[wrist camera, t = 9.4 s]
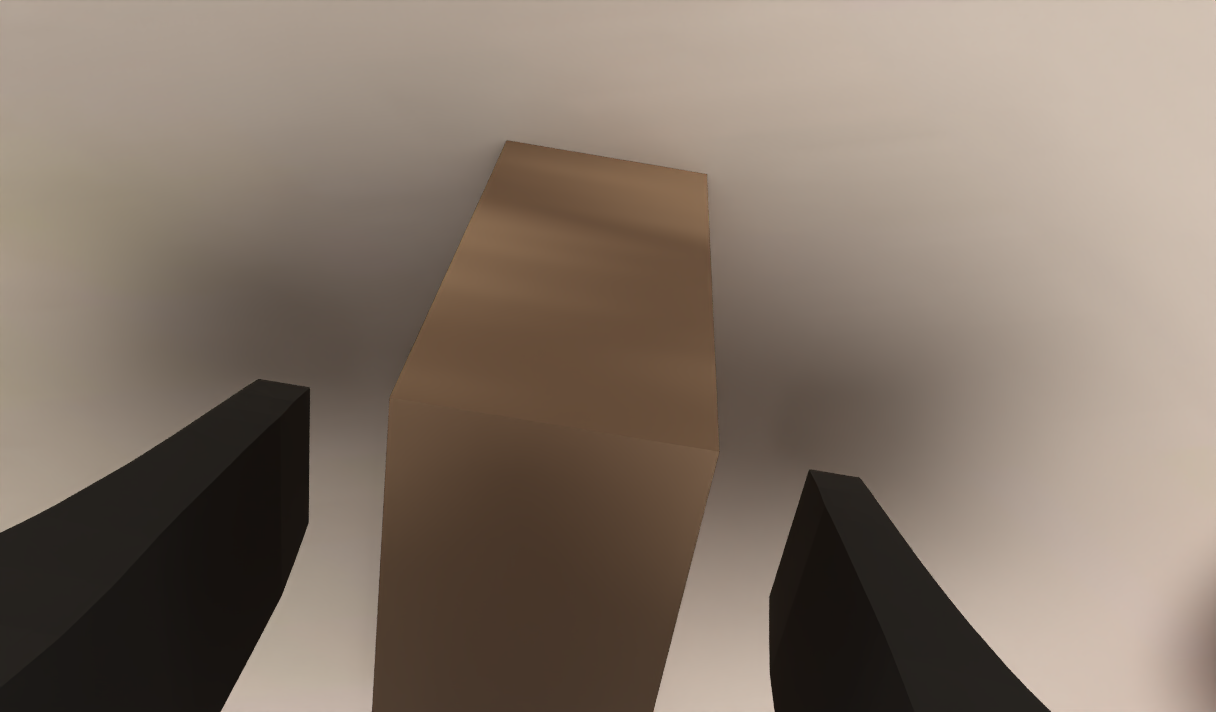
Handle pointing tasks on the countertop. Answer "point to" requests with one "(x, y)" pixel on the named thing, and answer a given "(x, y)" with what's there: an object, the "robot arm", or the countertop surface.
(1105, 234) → the countertop surface
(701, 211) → the wooden plank piece
